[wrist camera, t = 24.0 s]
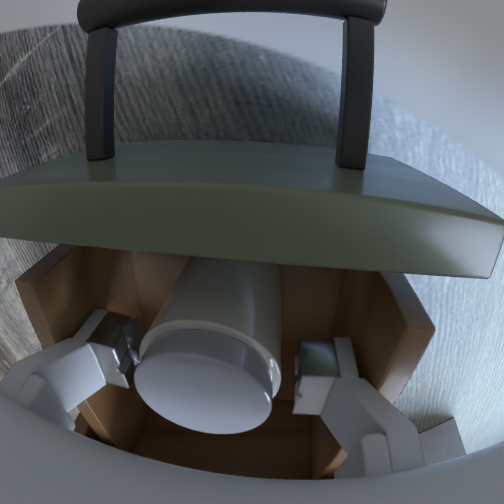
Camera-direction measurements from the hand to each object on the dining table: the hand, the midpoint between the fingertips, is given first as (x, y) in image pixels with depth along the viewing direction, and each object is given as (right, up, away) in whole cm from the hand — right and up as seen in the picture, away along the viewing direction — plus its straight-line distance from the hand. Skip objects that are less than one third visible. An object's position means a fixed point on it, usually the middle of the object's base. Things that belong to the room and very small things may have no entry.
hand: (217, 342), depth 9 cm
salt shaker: (0, +1, +3) cm, 3 cm away
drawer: (0, +3, +3) cm, 4 cm away
